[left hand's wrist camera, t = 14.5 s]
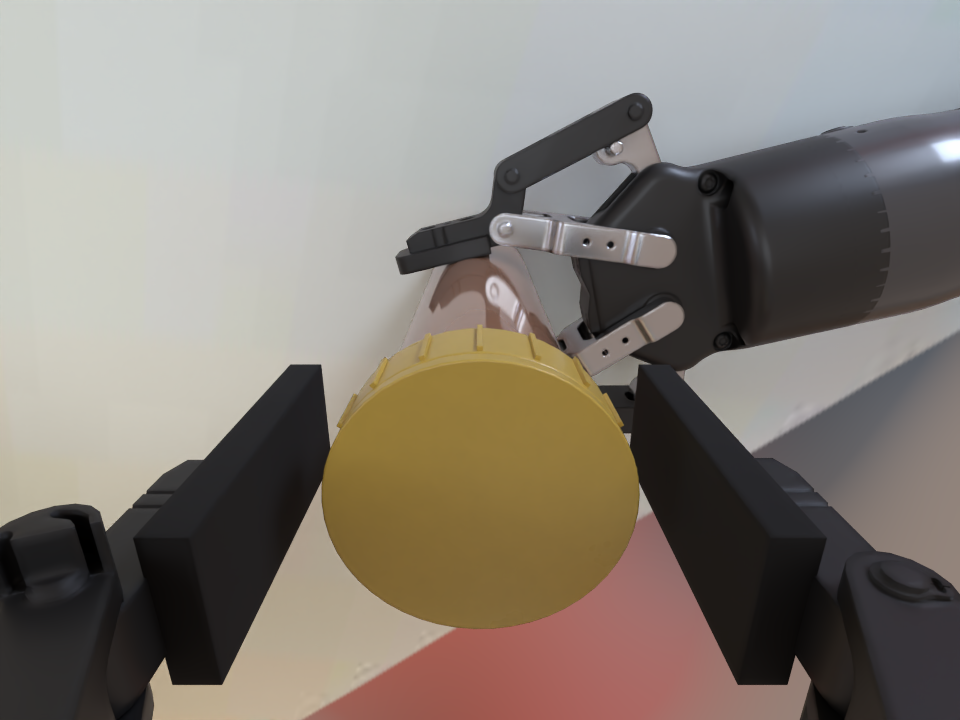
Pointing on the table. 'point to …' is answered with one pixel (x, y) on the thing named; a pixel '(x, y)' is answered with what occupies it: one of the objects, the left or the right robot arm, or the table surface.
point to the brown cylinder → (481, 299)
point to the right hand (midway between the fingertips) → (420, 327)
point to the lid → (480, 481)
